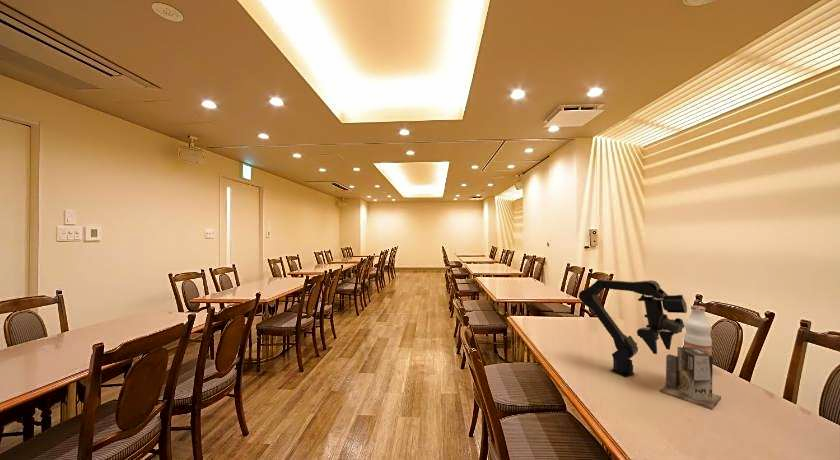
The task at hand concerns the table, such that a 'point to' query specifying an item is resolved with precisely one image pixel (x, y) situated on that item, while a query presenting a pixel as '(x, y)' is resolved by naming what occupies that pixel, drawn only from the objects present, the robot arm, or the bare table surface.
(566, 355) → the table surface
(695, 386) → the coffee box
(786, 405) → the table surface
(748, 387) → the table surface
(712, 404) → the pull board
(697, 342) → the fruit juice
